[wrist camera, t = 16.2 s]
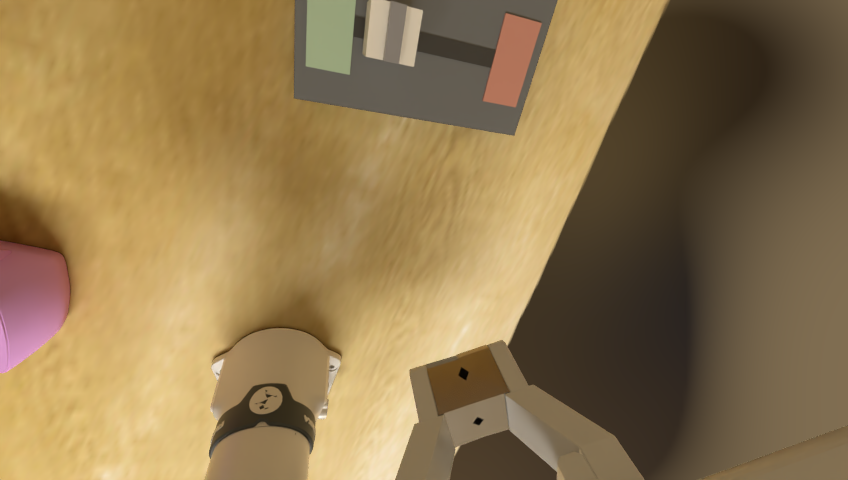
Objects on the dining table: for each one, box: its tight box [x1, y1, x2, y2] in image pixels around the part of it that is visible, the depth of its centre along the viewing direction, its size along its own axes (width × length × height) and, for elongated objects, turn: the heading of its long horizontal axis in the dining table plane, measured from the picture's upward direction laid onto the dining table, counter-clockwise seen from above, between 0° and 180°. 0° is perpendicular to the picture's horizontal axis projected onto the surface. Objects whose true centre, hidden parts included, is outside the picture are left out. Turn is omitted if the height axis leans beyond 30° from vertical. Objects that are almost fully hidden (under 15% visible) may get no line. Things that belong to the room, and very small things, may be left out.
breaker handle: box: [362, 0, 423, 67], centre depth 28 cm, size 4×4×6 cm
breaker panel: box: [294, 0, 557, 136], centre depth 33 cm, size 14×24×3 cm, turn 79°
